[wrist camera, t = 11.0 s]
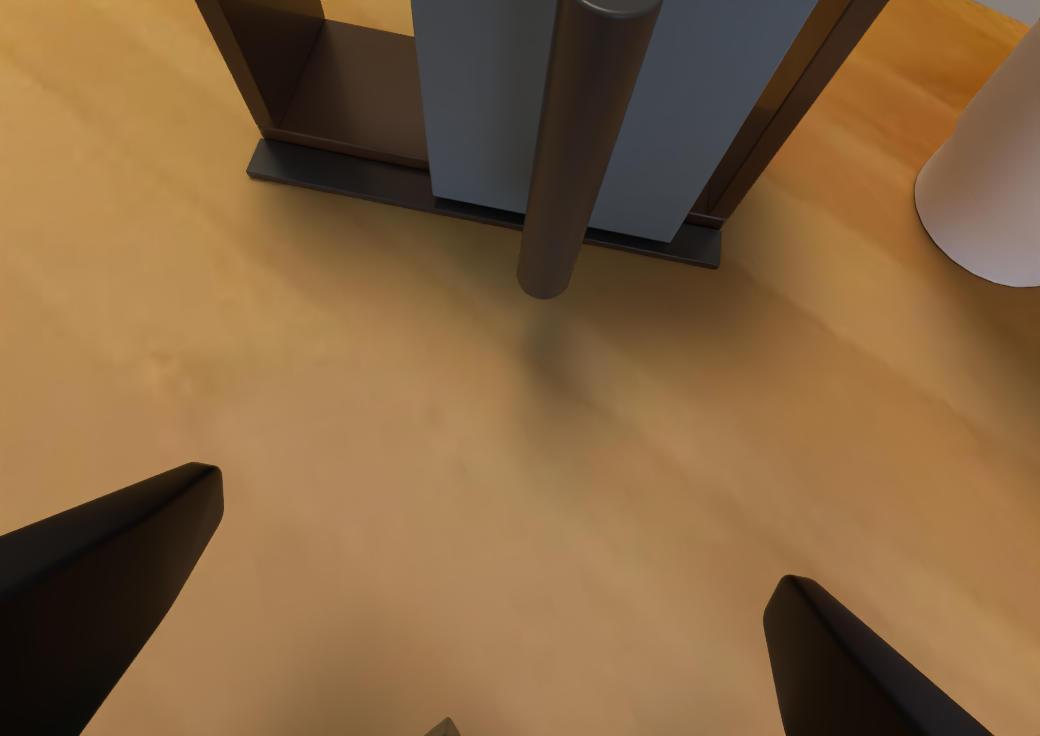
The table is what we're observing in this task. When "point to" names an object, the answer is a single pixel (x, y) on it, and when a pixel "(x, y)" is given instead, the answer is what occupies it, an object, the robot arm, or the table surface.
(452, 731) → the button box
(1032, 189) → the cup
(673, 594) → the table surface
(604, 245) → the closet
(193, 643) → the table surface
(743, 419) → the table surface
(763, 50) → the closet door
